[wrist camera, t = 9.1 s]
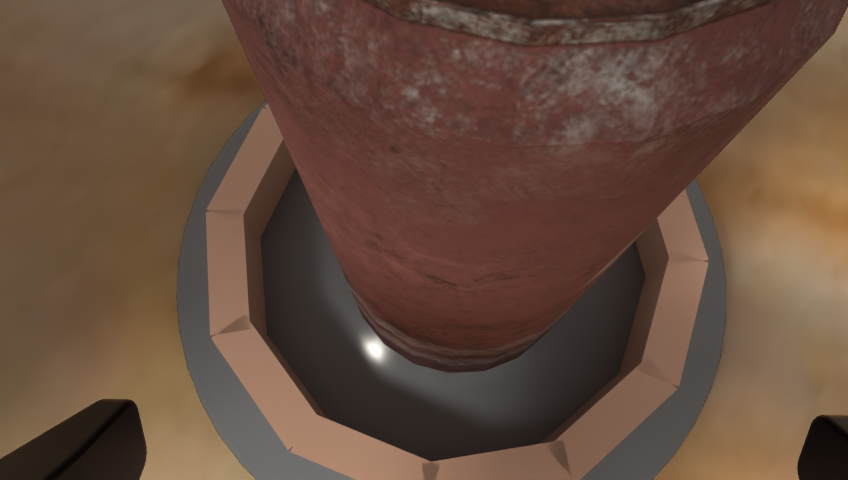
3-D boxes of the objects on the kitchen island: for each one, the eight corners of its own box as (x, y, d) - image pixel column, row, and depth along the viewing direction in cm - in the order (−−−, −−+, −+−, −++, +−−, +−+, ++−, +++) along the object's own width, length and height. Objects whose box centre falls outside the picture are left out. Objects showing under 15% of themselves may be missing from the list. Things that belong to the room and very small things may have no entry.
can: (465, 134, 19) (552, -576, 6) (604, 286, 17) (1153, -239, 4) (306, 246, 18) (-21, -342, 5) (440, 422, 16) (507, 261, 3)
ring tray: (792, 501, 16) (857, 509, 14) (193, 605, 15) (149, 633, 13) (632, 21, 22) (658, -35, 19) (182, 79, 21) (149, 29, 18)
